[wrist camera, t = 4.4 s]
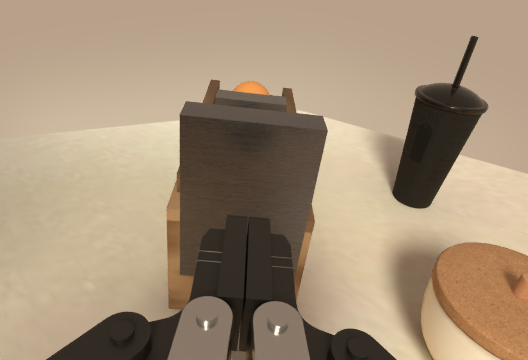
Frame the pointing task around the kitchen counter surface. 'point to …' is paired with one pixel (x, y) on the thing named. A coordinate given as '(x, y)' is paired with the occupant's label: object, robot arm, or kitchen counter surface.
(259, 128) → the plunger
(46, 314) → the kitchen counter surface
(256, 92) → the ball
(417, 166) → the drinking cup
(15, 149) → the kitchen counter surface
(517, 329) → the lidded jar
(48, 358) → the robot arm
